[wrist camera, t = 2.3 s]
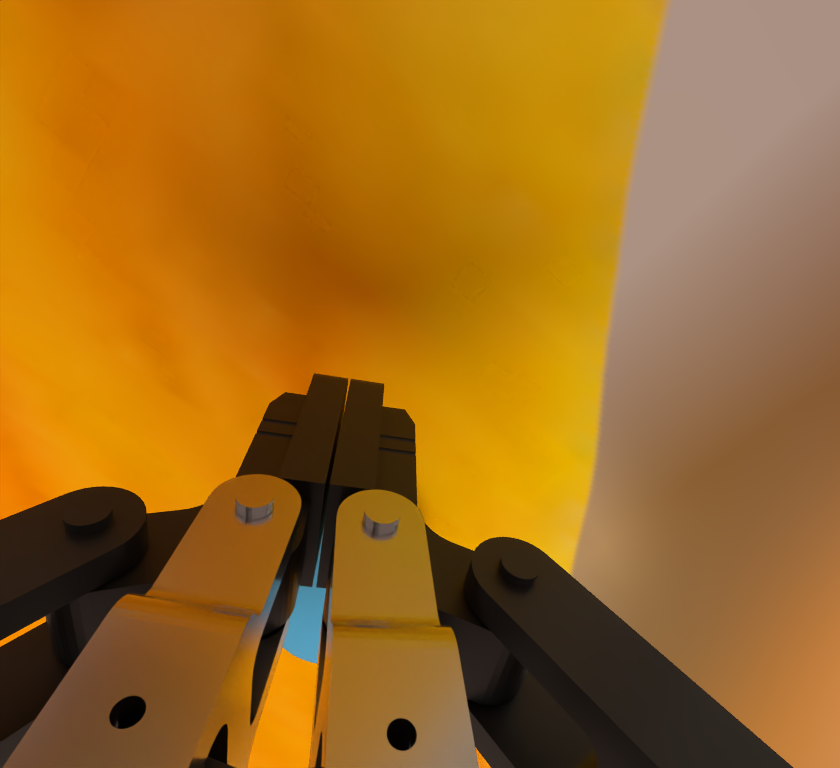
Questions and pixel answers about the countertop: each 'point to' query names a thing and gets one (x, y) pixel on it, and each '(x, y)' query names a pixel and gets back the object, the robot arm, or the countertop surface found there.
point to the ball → (306, 621)
